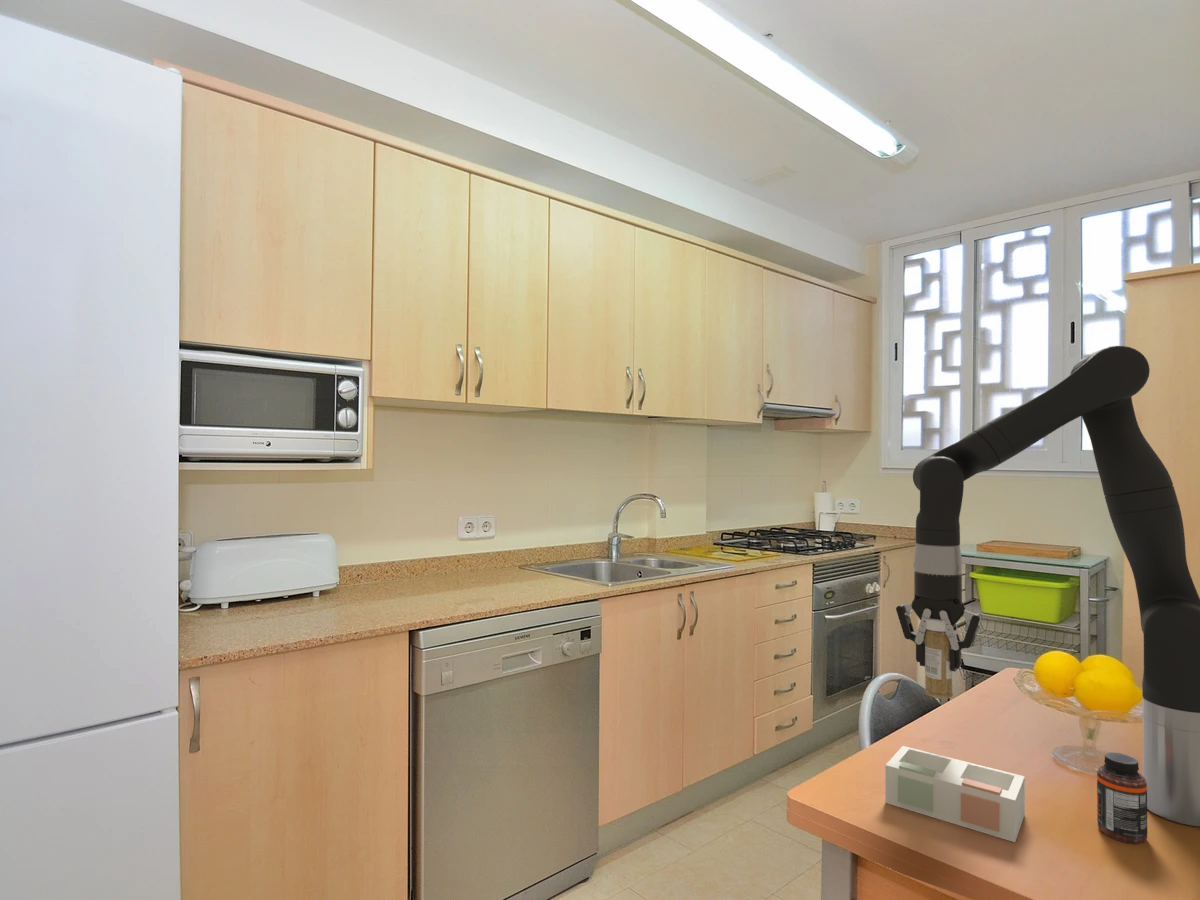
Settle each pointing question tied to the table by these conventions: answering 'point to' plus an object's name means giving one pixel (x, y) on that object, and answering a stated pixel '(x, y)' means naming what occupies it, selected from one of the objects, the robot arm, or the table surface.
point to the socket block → (956, 792)
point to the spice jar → (937, 660)
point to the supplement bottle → (1122, 799)
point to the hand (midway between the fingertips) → (938, 667)
